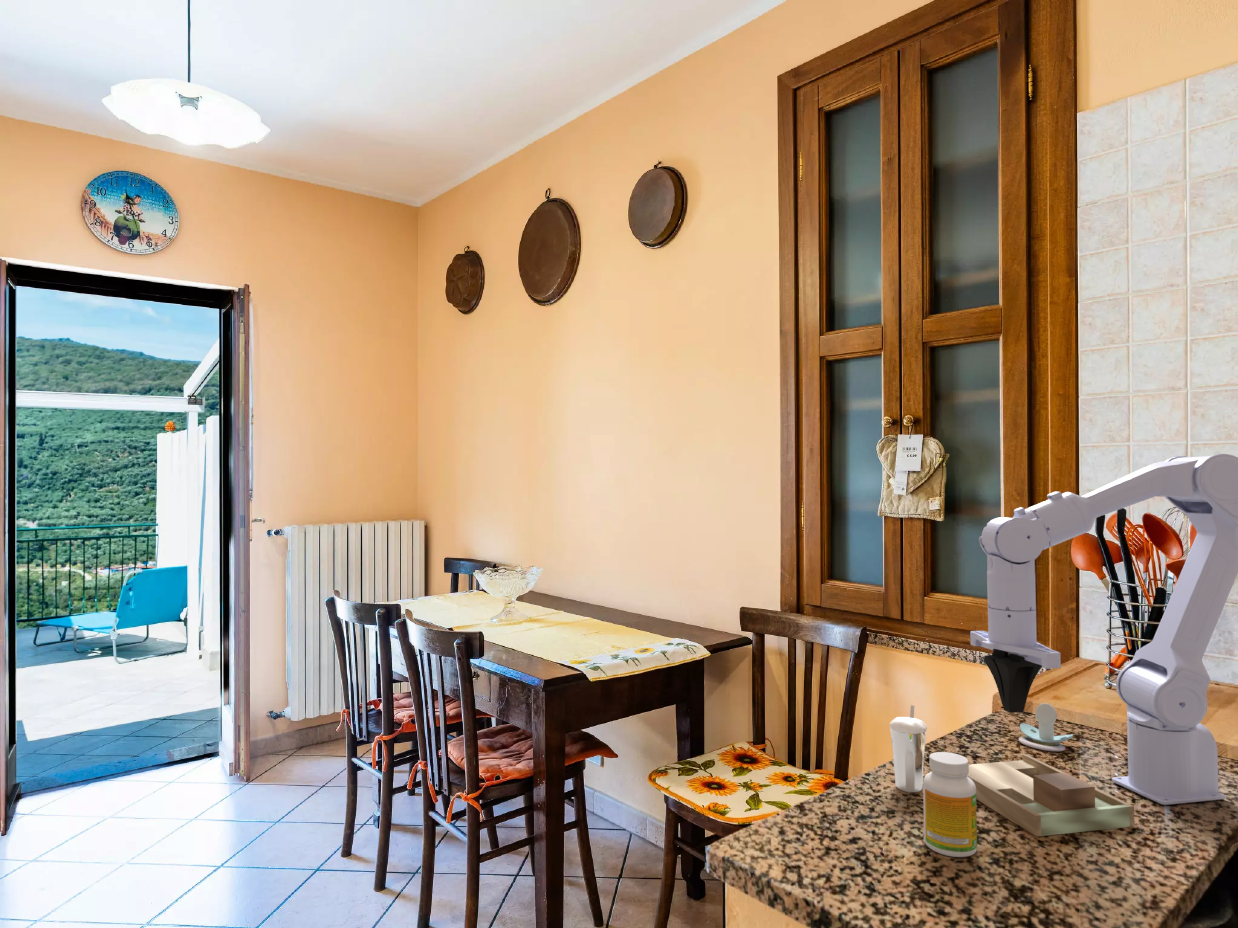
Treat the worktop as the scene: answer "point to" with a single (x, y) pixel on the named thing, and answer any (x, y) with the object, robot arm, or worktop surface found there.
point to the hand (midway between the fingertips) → (1013, 710)
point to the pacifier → (1043, 731)
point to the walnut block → (1063, 792)
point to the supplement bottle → (950, 806)
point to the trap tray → (1014, 799)
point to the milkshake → (908, 751)
